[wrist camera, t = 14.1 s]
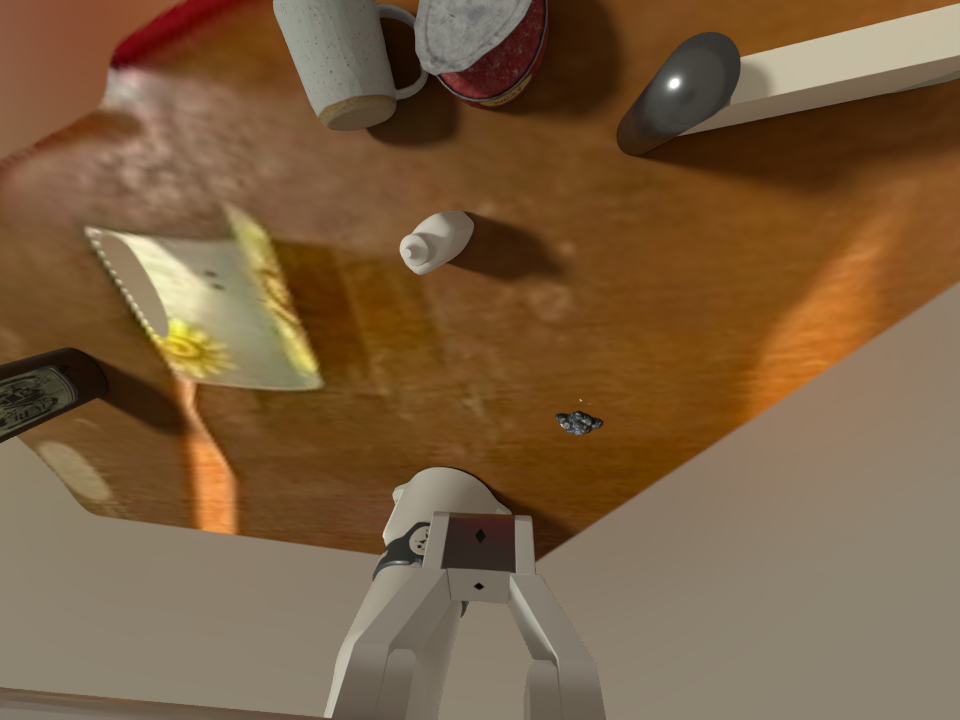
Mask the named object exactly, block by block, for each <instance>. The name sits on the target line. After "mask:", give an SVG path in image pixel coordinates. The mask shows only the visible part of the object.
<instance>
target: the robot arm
mask: <svg viewBox="0 0 960 720" xmlns="http://www.w3.org/2000/svg"><path fill="white" fill-rule="evenodd" d="M393 498H394V501H395V504H396V506H395V508H394V510H393V512H392V514H391V517H390V519H389V521H388V523H387V526H386V528H385V530H384V533H383V538H384V541H385V545H386V548H385V550H384V552H383V554H382V555H381V557H380V559H379V561H378V563H377V566H376V570H375V572H374V574H373V584H372V585H371V587H370V589H369V592H368V594H367V596H366V598H365V600H364V602H363V604H362V606H361V608H360V610H359V612H358V614H357V616H356V618H355V620H354V622H353V624H352V626H351V628H350V630H349V632H348V634H347V636H346V638H345V640H344V643H343V645H342V647H341V649H340V652H339V654H338V658H337V661H336V665H335V670H334V677H333V682H332V687H331V691H330V695H329V699H328V703H327V706H326V710H325V713H324V717H313V716H303V715H292V714H281V713H270V712H260V711H248V710H238V709H227V708H217V707H206V706H195V705H184V704H173V703H162V702H151V701H141V700H131V699H119V698H109V697H98V696H87V695H75V694H65V693H55V692H44V691H33V690H23V689H12V688H1V687H0V720H438V714H439V708H440V703H441V698H442V694H443V689H444V685H445V681H446V676H447V672H448V668H449V664H450V659H451V655H452V651H453V647H454V643H455V639H456V634H457V630H458V626H459V622H460V618H461V617H462V616H463V615H464V613H465V611H466V607H467V606H468V604H469V601H481V602H492V603H502V604H508V606H509V608H510V610H511V613H512V615H513V617H514V619H515V621H516V623H517V625H518V627H519V630H520V632H521V634H522V636H523V638H524V640H525V642H526V645H527V647H528V649H529V651H530V653H531V655H532V657H533V659H534V660H533V661H532V662H531V664H530V665H529V669H528V674H527V680H526V686H525V692H524V720H606V717H605V711H604V705H603V699H602V693H601V688H600V681H599V676H598V670H597V664H596V662H595V660H594V659H593V657H592V655H591V654H590V652H589V651H588V649H587V647H586V646H585V644H584V642H583V641H582V639H581V638H580V636H579V634H578V633H577V631H576V630H575V628H574V627H573V625H572V624H571V622H570V620H569V619H568V617H567V616H566V614H565V612H564V611H563V609H562V607H561V606H560V604H559V603H558V601H557V599H556V598H555V596H554V595H553V593H552V592H551V590H550V589H549V587H548V585H547V584H546V582H545V580H544V579H543V577H542V576H541V575H538V574H536V569H535V554H534V540H533V525H532V518H531V516H527V515H515V516H514V515H512V513H511V511H510V510H509V509H508V508H506V507H505V506H504V505H502V504H501V503H499V502H498V501H497V500H496V499H495V498H494V496H493V495H492V493H491V492H490V491H489V489H488V488H487V487H486V486H485V485H484V484H483V483H481V482H480V481H479V480H478V479H476V478H475V477H473V476H471V475H469V474H467V473H465V472H462V471H459V470H456V469H452V468H445V467H436V468H429V469H426V470H423V471H421V472H419V473H418V474H416V475H415V476H414V477H413V478H412V479H411V480H410V481H409V482H408V483H406V484H403V485H400V486H398V487H396V488H395V490H394V492H393Z"/></svg>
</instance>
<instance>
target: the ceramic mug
mask: <svg viewBox="0 0 960 720" xmlns="http://www.w3.org/2000/svg"><path fill="white" fill-rule="evenodd" d="M273 7H274V12H275V15H276V18H277V20H278V23H279V25H280V28H281V30H282V32H283V35H284V38H285V40H286V43H287V45H288V48H289V50H290V53H291V55H292V58H293V61H294V63H295V66H296V68H297V70H298V73H299V75H300V78H301V80H302V83H303V86H304V88H305V91H306V94H307V96H308V99H309V101H310V103H311V105H312V107H313V109H314V111H315V113H316V114H317V116H318V118H319V120H320V121H321V122H322V124H323V125H325V126H326V127H328V128H330V129H333V130H339V131H349V130H357V129H363V128H367V127H371V126H374V125H376V124H379V123H382V122H384V121H386V120H387V119H389V118H390V117H391V116H392V115H393V114H394V112H395V110H396V106H397V100H398V99H405V98H408V97H410V96H412V95H414V94H416V93H417V92H418V91H419V90H420V89H421V88H422V87H423V86H424V84H425V83H426V80H427V78H428V75H429V72H427V71H425V70H424V69H423V68H422V65H421V63H420V68H421V77H420V78H419V79H418V80H417V81H416V82H415V84H414V85H411V86H409V87H407V88H404V89H400V90H396V88H395V84H394V79H393V76H392V71H391V66H390V63H389V60H388V56H387V52H386V46H385V41H384V36H383V32H382V28H381V23H380V18H382V17H383V18H392V19H396V20H399V21H402V22H404V23H406V24H407V25H409V26H410V27H411V28H413V30H414V24H415V20H416V18H415V17H414V16H413V15H412V14H411V13H410V12H408V11H406V10H405V9H403V8H400V7H398V6H395V5H390V4H382V3H376V1H375V0H273ZM414 31H415V30H414Z"/></svg>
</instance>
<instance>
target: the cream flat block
mask: <svg viewBox="0 0 960 720" xmlns="http://www.w3.org/2000/svg"><path fill="white" fill-rule="evenodd" d="M740 60H741V70H740V76H739V80H738V83H737V86H736V88H735V90H734V92H733V94H732V96H731V97H730V99H729V100H728V102H727V103H726V104H725V105H724V106H723V108H722V109H721V110H720V111H718V112H717V113H716V114H715V115H713V116H712V117H711V118H709V119H707V120H705V121H704V122H702V123H700V124H698V125H696V126H694V127H693V128H691V129H689V130H687V131H685V132H683V133H681V134H680V135H678V136H681V135H686V134H691V133H696V132H701V131H706V130H711V129H715V128H720V127H725V126H730V125H735V124H740V123H745V122H750V121H755V120H759V119H764V118H769V117H774V116H779V115H784V114H789V113H794V112H799V111H804V110H808V109H813V108H818V107H823V106H828V105H833V104H838V103H843V102H848V101H852V100H857V99H862V98H867V97H872V96H877V95H882V94H887V93H890V94H891V93H895V92H900V91H905V90H910V89H915V88H920V87H925V86H930V85H935V84H940V83H944V82H948V81H951V80H954V79H958V78H960V3H959V4H955V5H951V6H947V7H943V8H939V9H935V10H931V11H927V12H923V13H919V14H915V15H910V16H906V17H902V18H898V19H894V20H890V21H886V22H882V23H878V24H874V25H870V26H866V27H862V28H858V29H854V30H850V31H846V32H842V33H838V34H834V35H830V36H826V37H822V38H818V39H813V40H809V41H805V42H801V43H797V44H793V45H789V46H785V47H781V48H777V49H773V50H769V51H765V52H761V53H757V54H753V55H749V56H745V57H741V58H740Z"/></svg>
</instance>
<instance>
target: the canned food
mask: <svg viewBox="0 0 960 720" xmlns="http://www.w3.org/2000/svg"><path fill="white" fill-rule="evenodd" d="M548 29H549V24H548V4H547V0H419V6H418V12H417V16H416V20H415V24H414V30H415V51H416V54H417V56H418V58H419V60H420V63H421V65H422V68H423V69H424V70H425V71H427V72H429V73H430V74H432V75H434V76H435V75H436V76H437V78H438V79H439V80H440V82H441V83H442V84H443V85H444V86H445V87H446V88H447V89H448V90H449V91H450V92H452V93H453V95H455V96H456V97H457V98H458V99H459V100H461V101H462V102H464V103H466V104H468V105H469V106H472V107H476V108H480V109H493V108H497V107H501V106H504V105H506V104H507V103H509V102H511V101H513V100H514V99H516V98H517V97H518V96H519V95H521V94H522V93H523V92H524V90H525V89H526V88H527V87H528V86H529V85H530V84H531V82H532V80H533V79H534V77H535V75H536V74H537V72H538V70H539V68H540V65H541V63H542V60H543V58H544V54H545V50H546V46H547V40H548Z"/></svg>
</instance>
